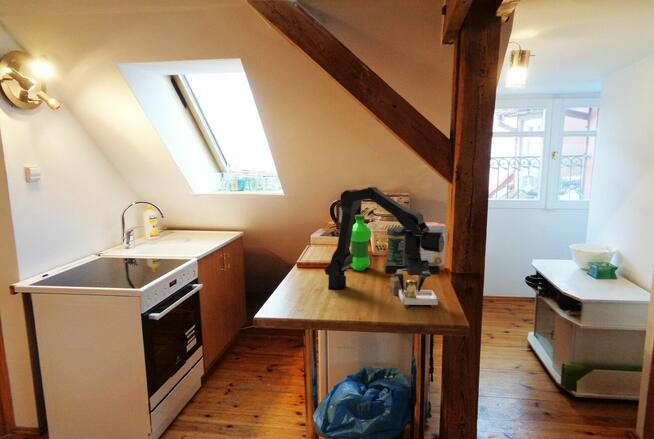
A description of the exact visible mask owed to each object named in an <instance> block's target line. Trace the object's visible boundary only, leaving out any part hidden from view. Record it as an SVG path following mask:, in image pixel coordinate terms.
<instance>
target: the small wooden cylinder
mask: <svg viewBox="0 0 654 439" xmlns="http://www.w3.org/2000/svg"><path fill="white" fill-rule="evenodd" d="M404 286H405V298H413V299H416V293H417V290H418V280H416V279H408V278H407V279H405V283H404Z"/></svg>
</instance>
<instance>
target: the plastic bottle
mask: <svg viewBox="0 0 654 439" xmlns="http://www.w3.org/2000/svg"><path fill="white" fill-rule="evenodd" d="M354 221H355V222H354V224H353V230H352V236H351V242H350V253H352V254H354V256H353V263H352V264H351V265H350V267H351V268H352V269H353V270H354V271H357V272H359V271H365V270H366V268H368V267H369V266H370V264H371V260H370V256H369V240H370V239H371V238H372V231H371V228H369V227H368V225H367V224H365V223H364V221H365V215H364V214H355V218H354Z"/></svg>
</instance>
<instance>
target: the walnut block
mask: <svg viewBox="0 0 654 439" xmlns="http://www.w3.org/2000/svg"><path fill="white" fill-rule="evenodd" d="M403 283H404V284H405V279H403ZM399 290H402V289H401V285H400V282H399V279H398V276H394V277H390V278H389V292H390V294H392V295H393V296H399Z"/></svg>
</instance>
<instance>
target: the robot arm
mask: <svg viewBox="0 0 654 439" xmlns="http://www.w3.org/2000/svg"><path fill="white" fill-rule="evenodd" d="M339 197H340V202H339V203H340V204H339V205H340V206H339V207H340V208H341V212H342V215H341V221H340V226H339V232H338V238H337V239H338V240H337V246H336V249H335V251H334V252H333V253H332V256H331V259H330V262H329V263H330V264H329V265H328V266H326V268H324V273H325V275H327V276H328V282H327V283H328V285H327V289H328V291H333V290H334V291H345V288H346V287H347V276H346V275H345V272H348V268H349V267H351V266H350V265H351V264H352V263H353V256H354V254H352V253H351V236H352V230H353V225H354V224H355V215H356V213H357V211H358V210H359V208H360V206H361V203H362V200H363V201H364V200H367V199H369V200H370V201H372V202H374V203H375V204H376V205H378V207H380V208H382V209H384V210H385V211H387V212H388V213H389V214H391V215H392V216H394V218H396V220H397V222H398V223H399V224H400V226H401V227H404V228H403V229H402V231H401V232H399V233H398V235H404V258H403V265H396V263H395V262H386V261H384V264H383V271H384V273H385V275H393V276H394V277H398V279H399V282H400V285H401V289H402V292H404V286H405V282H404V283H403V280H404V274H403V271H406V272H407V275H408V276H418V280H417V290H418V292H420V290H422V286H423V284H424V282H425V281H426V279H427V278H429V277H431V275H436V276H437V275H441V270H440V267H439V266H438V264H437V263H436V262H428V260H421V248H423V249H424V250H425V251H433V252H440V253H441V252H442V251H443V248H444V238H443V236H442V232H432V231H430V230H429V228H428V227H427V225H426V222H425V219H424V214H422V213H421V212H419V211H417V210H415V209H413V208H409V207H406V206H404V205H402V204H400V203H399V202H397V201H396V200H394V199H393V198H391V197H390V196H388V195H387V194H385V193H384V192H382V191H381V190H379V189H378V187H377V186H367V187H366V188H363V189H356V188H354V189H347V190H344V191H343V192H342V193H341V194H340V196H339ZM419 228H420V229H419Z"/></svg>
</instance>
